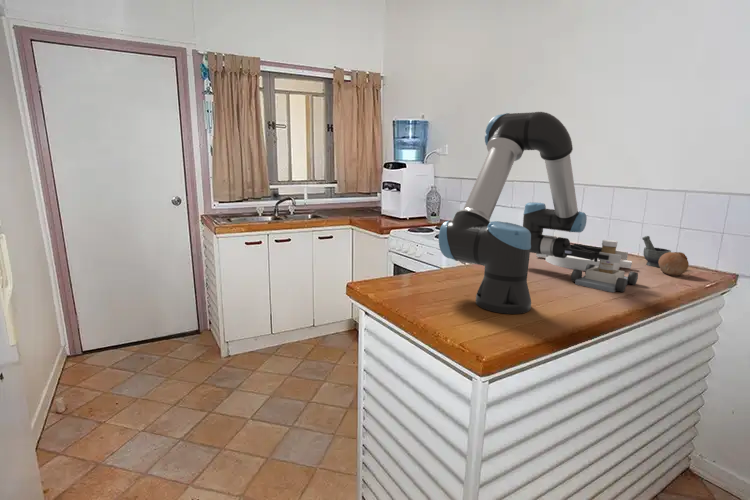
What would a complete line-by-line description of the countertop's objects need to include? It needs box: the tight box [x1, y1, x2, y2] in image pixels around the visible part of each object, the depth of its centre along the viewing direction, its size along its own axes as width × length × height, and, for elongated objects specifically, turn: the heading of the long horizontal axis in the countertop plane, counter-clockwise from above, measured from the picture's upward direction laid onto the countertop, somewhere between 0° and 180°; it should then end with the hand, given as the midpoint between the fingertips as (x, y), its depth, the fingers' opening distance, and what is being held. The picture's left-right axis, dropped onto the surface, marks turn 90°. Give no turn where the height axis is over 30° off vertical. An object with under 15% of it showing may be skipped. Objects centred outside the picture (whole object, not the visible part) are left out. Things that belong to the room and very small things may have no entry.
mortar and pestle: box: [641, 235, 672, 268], centre depth 175 cm, size 11×9×12 cm
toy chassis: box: [570, 264, 639, 293], centre depth 145 cm, size 20×16×4 cm
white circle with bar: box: [535, 253, 633, 272], centre depth 175 cm, size 28×28×5 cm
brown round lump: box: [658, 251, 690, 277], centre depth 160 cm, size 10×9×10 cm
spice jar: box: [599, 239, 618, 274], centre depth 145 cm, size 5×5×14 cm
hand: (623, 257), depth 140 cm, fingers open, 7 cm apart
